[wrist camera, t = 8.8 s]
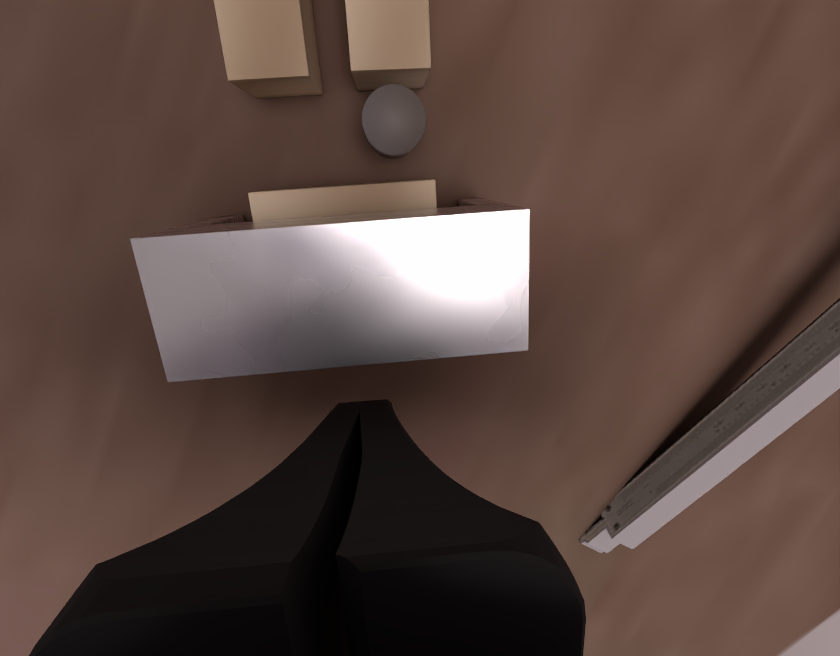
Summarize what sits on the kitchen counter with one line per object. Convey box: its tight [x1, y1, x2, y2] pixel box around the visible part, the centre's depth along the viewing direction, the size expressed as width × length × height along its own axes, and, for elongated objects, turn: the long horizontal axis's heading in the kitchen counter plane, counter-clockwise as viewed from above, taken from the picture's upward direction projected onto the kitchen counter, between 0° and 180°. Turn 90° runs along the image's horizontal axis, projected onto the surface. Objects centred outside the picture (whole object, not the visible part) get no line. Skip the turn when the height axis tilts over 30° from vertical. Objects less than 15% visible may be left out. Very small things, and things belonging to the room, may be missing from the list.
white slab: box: [130, 198, 529, 382], centre depth 11 cm, size 7×3×5 cm, turn 94°
